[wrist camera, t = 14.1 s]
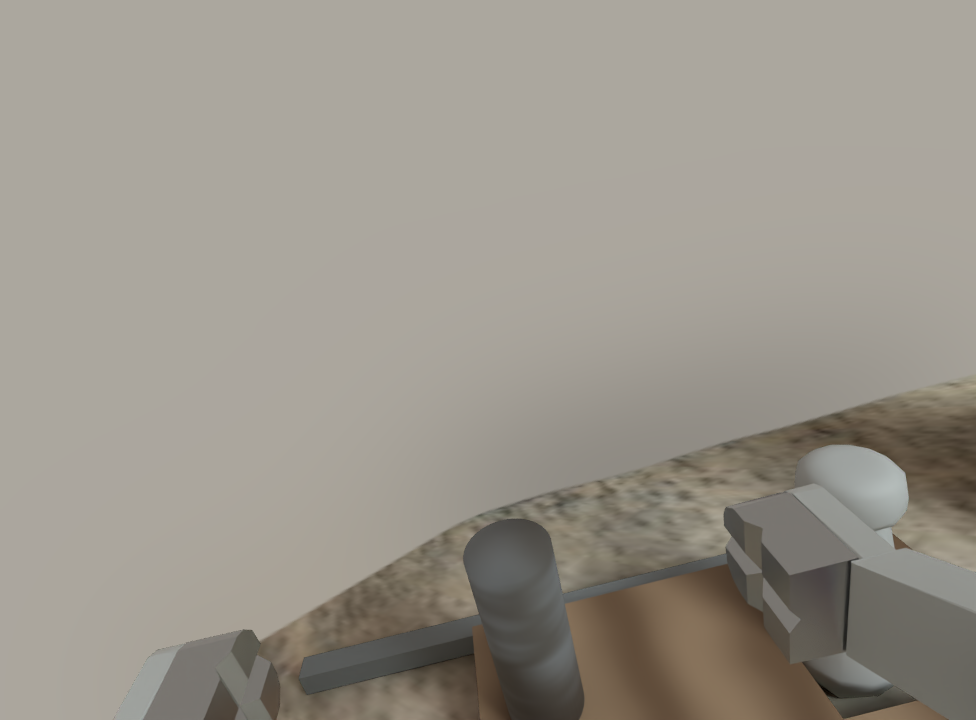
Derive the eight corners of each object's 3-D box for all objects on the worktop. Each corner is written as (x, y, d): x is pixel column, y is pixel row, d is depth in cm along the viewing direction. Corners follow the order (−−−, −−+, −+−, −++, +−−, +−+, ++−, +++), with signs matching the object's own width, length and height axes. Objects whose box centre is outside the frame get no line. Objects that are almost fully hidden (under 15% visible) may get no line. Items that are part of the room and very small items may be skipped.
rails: (232, 1014, 21) (217, 997, 21) (311, 673, 35) (304, 657, 34) (1047, 806, 22) (1054, 784, 21) (805, 551, 36) (806, 533, 35)
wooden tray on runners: (502, 876, 23) (430, 682, 18) (480, 655, 33) (430, 494, 29) (1075, 731, 23) (1147, 504, 19) (880, 556, 34) (894, 381, 29)
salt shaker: (872, 743, 25) (892, 525, 20) (756, 660, 30) (750, 468, 25) (928, 665, 27) (958, 455, 23) (813, 601, 32) (817, 416, 27)
